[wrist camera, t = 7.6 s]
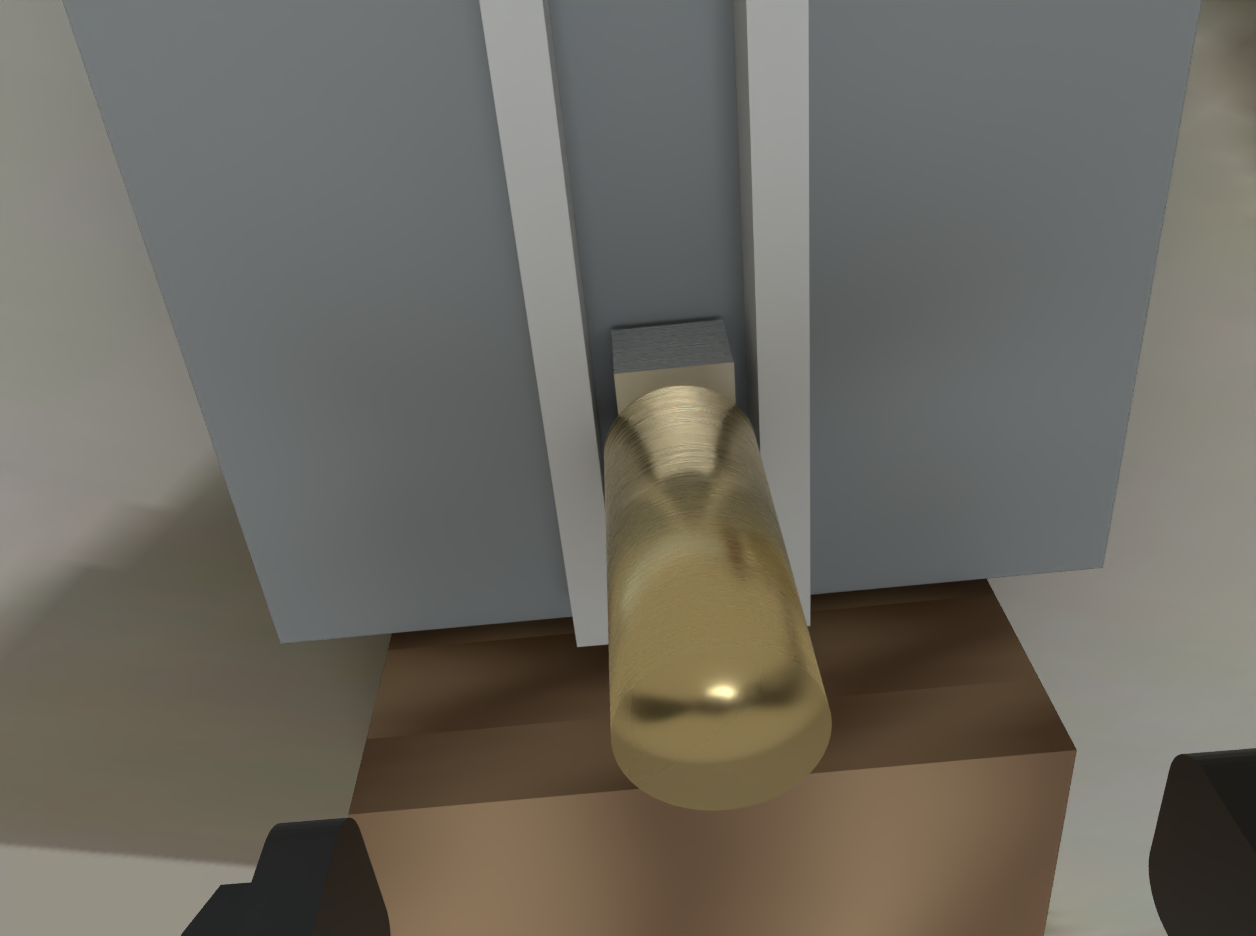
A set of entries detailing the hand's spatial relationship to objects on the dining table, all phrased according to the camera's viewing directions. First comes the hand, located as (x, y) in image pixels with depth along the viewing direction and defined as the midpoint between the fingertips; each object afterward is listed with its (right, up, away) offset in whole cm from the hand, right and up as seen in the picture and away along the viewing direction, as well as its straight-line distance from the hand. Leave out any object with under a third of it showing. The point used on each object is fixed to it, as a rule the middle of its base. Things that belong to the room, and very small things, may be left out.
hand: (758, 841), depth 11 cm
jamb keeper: (0, 0, +13) cm, 13 cm away
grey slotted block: (-1, +8, +8) cm, 11 cm away
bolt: (0, +2, +9) cm, 9 cm away
